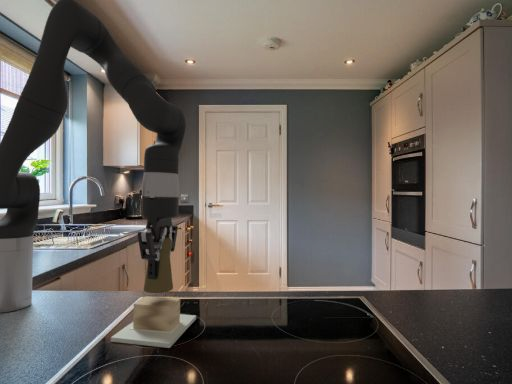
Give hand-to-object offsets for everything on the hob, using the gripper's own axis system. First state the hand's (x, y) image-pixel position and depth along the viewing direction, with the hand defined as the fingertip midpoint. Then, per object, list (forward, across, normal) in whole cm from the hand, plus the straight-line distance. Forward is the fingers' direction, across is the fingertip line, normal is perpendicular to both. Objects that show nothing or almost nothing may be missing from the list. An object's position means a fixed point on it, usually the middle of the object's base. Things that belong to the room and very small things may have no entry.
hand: (158, 275), depth 67 cm
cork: (+3, 0, 0) cm, 3 cm away
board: (+11, 0, 0) cm, 11 cm away
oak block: (+10, 0, 0) cm, 10 cm away
